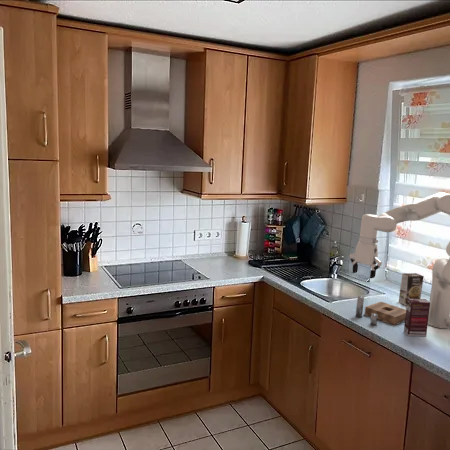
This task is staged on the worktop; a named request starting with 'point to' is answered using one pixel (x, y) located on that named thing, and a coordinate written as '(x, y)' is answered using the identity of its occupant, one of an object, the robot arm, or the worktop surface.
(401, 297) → the coffee box
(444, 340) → the worktop surface
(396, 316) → the hole block
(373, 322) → the short pin
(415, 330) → the supplement box
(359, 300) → the long pin
